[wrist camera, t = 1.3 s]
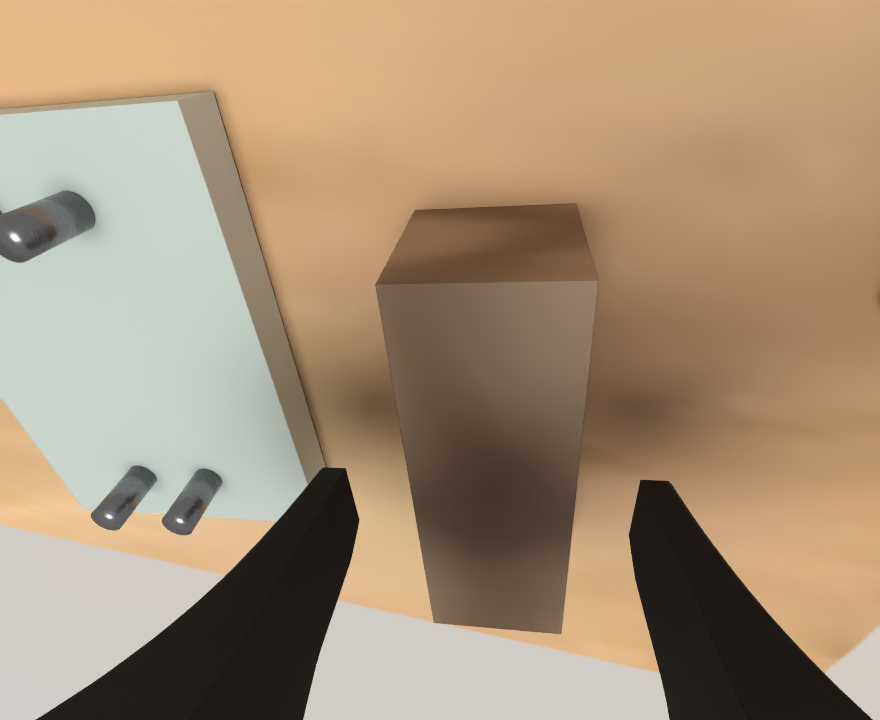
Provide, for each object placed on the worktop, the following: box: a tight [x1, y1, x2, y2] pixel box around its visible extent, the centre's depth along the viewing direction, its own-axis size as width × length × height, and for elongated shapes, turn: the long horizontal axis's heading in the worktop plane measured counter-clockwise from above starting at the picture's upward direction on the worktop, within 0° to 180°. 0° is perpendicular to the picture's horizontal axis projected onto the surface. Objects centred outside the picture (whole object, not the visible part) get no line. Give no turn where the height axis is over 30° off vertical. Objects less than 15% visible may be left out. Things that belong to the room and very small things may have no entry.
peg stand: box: [0, 92, 326, 535], centre depth 15 cm, size 10×14×4 cm
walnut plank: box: [376, 203, 598, 634], centre depth 14 cm, size 4×12×4 cm, turn 5°
